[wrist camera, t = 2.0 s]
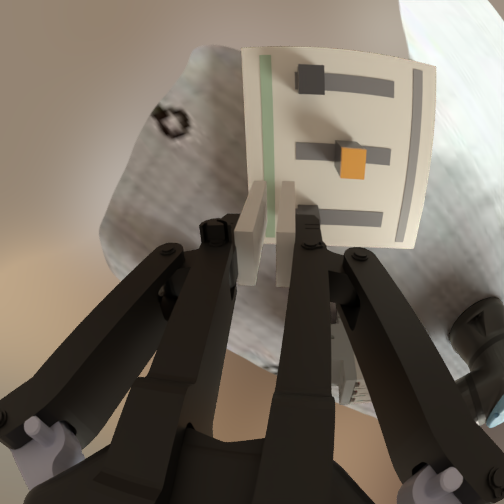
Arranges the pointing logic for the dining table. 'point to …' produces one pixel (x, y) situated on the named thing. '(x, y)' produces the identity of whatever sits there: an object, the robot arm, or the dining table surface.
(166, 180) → the dining table surface
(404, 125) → the breaker panel
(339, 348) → the circuit breaker
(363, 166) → the block
